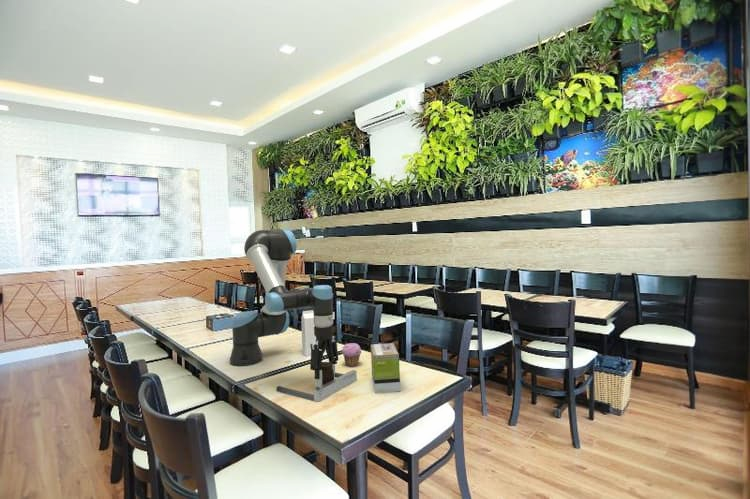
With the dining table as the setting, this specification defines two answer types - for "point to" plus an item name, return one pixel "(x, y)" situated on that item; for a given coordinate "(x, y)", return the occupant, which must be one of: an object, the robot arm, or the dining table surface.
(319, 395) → the u-shaped bar frame
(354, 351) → the cupcake
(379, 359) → the tea box
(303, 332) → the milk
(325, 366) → the mate gourd
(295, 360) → the dining table surface
